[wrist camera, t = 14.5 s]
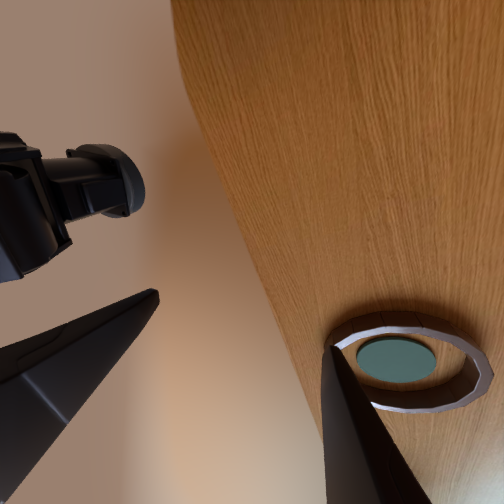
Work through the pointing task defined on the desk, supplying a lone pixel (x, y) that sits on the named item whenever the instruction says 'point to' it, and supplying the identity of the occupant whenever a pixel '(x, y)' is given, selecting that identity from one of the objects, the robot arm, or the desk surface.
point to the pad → (396, 359)
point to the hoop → (476, 364)
